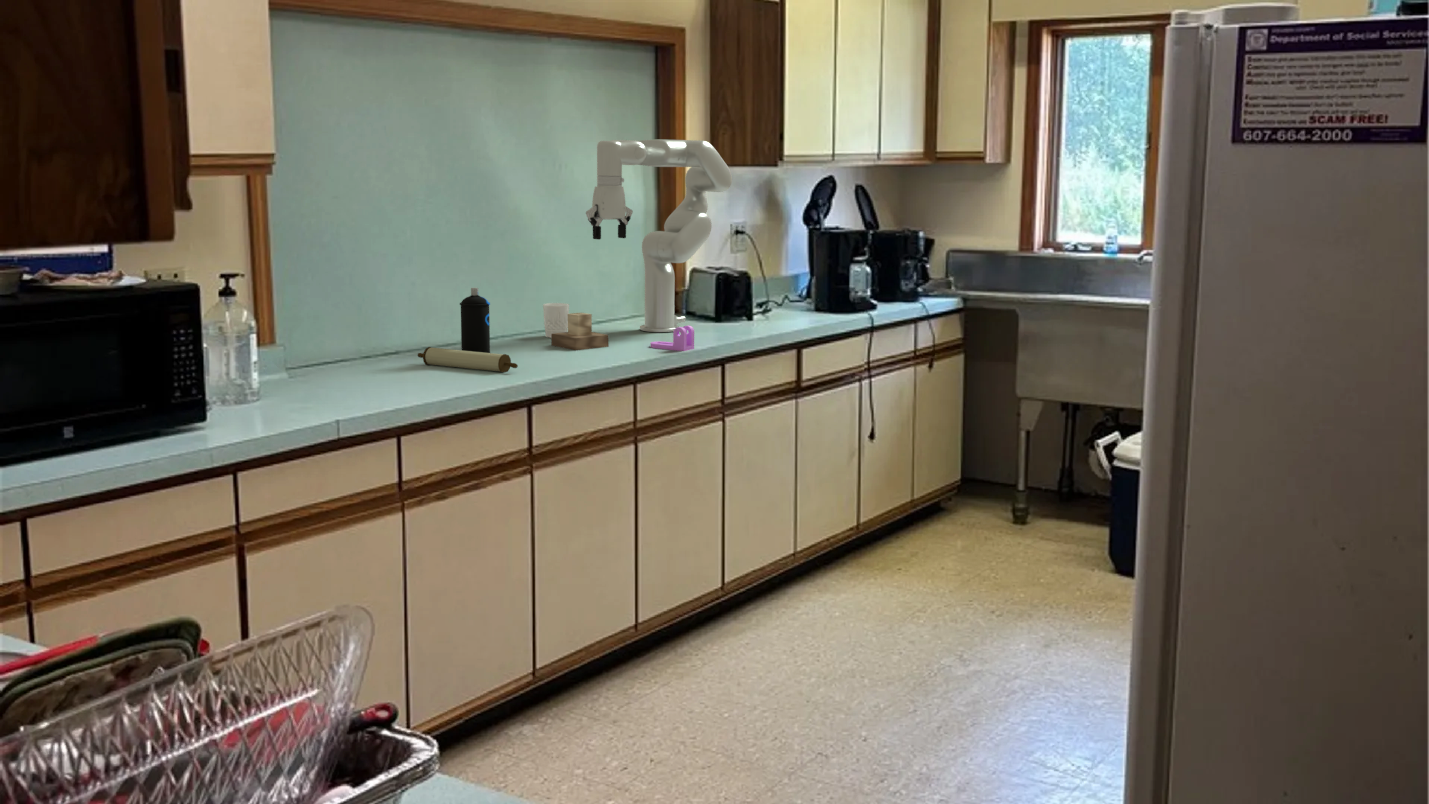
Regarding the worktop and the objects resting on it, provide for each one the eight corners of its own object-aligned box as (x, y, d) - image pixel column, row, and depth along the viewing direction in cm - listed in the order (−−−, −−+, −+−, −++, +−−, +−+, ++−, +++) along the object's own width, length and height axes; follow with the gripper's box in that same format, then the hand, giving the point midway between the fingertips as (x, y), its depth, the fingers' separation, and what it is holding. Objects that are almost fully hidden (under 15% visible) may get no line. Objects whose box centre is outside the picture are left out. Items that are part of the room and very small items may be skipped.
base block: (583, 343, 414) (583, 330, 413) (608, 348, 406) (608, 334, 405) (551, 346, 406) (551, 333, 405) (575, 351, 398) (575, 338, 397)
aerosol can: (465, 363, 371) (464, 290, 367) (456, 359, 378) (455, 286, 374) (495, 361, 375) (494, 288, 371) (485, 357, 382) (484, 285, 378)
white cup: (571, 335, 428) (571, 303, 426) (566, 338, 420) (566, 306, 418) (546, 334, 428) (546, 302, 427) (540, 338, 421) (540, 305, 419)
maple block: (581, 332, 409) (581, 312, 408) (591, 334, 405) (591, 314, 404) (567, 333, 405) (567, 313, 404) (578, 335, 402) (578, 315, 401)
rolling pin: (411, 365, 369) (411, 347, 368) (424, 362, 374) (424, 344, 373) (511, 375, 355) (510, 356, 354) (523, 372, 360) (523, 354, 359)
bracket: (694, 349, 404) (694, 325, 402) (683, 351, 399) (684, 327, 398) (657, 345, 410) (657, 322, 409) (646, 347, 406) (646, 324, 404)
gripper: (623, 181, 425) (623, 236, 428) (579, 181, 414) (579, 238, 417) (639, 182, 420) (639, 238, 423) (594, 182, 408) (594, 240, 412)
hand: (609, 238), depth 420 cm, fingers open, 9 cm apart
